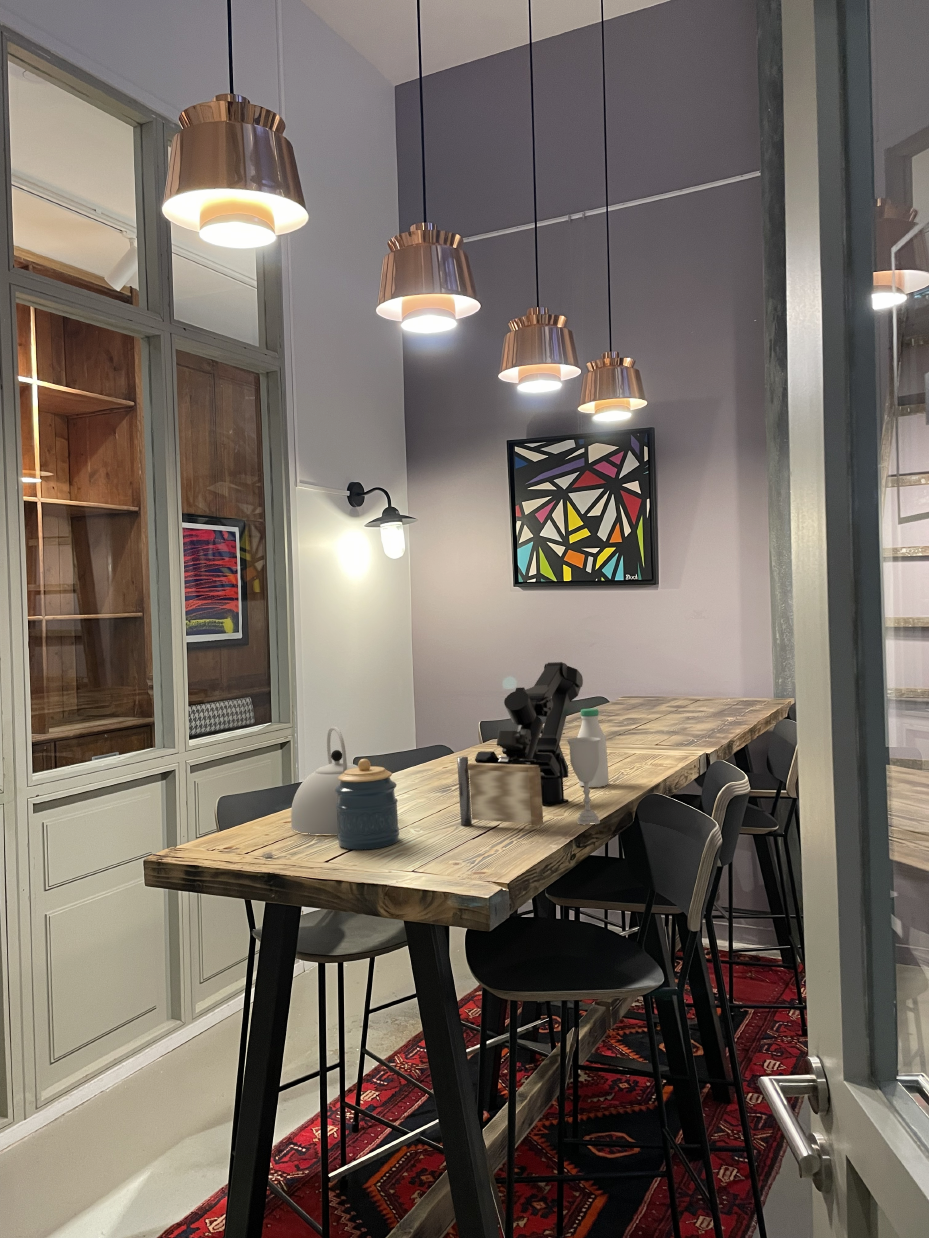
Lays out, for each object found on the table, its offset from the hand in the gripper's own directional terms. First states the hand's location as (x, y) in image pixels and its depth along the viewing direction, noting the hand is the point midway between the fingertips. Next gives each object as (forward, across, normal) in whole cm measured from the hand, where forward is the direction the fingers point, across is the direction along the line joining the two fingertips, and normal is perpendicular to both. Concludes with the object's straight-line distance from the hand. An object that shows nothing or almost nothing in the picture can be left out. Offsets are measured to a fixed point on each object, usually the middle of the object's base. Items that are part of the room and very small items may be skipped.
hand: (506, 795), depth 198 cm
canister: (+19, -22, -9) cm, 31 cm away
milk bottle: (-28, +1, +38) cm, 47 cm away
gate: (+5, 0, +3) cm, 6 cm away
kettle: (+10, -41, 0) cm, 42 cm away
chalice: (-1, +15, +11) cm, 19 cm away
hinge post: (+5, -10, +4) cm, 12 cm away
